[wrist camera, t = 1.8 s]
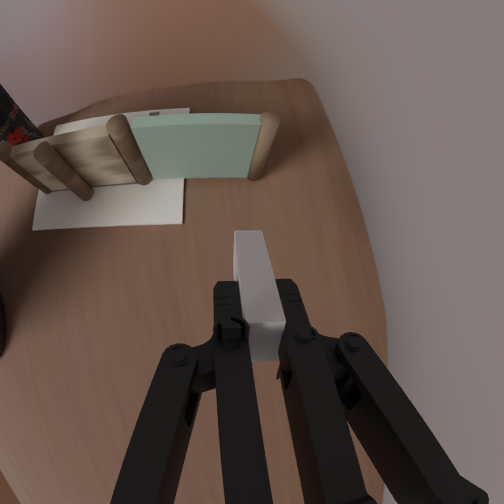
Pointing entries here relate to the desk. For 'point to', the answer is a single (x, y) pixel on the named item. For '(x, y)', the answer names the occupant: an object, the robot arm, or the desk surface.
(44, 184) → the fence fixed
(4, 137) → the deodorant
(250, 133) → the fence gate
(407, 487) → the robot arm
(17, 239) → the desk surface
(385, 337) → the desk surface
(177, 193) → the card
